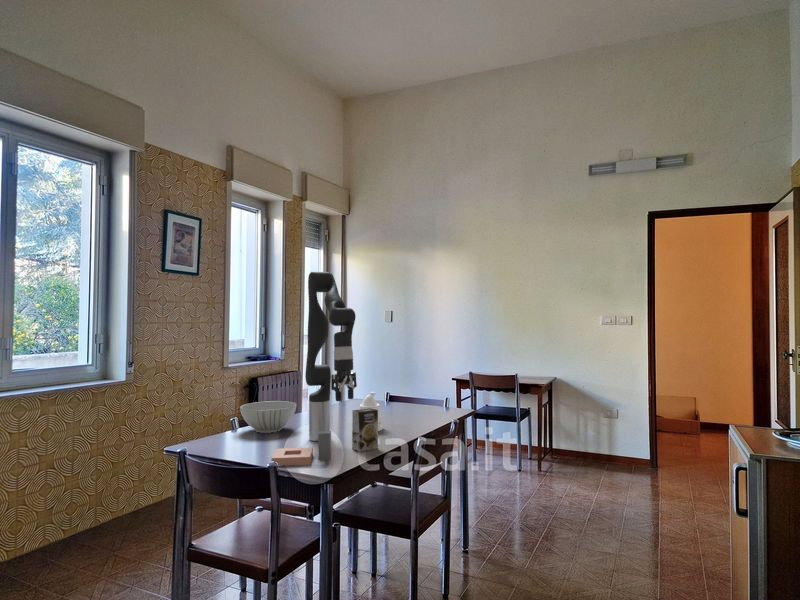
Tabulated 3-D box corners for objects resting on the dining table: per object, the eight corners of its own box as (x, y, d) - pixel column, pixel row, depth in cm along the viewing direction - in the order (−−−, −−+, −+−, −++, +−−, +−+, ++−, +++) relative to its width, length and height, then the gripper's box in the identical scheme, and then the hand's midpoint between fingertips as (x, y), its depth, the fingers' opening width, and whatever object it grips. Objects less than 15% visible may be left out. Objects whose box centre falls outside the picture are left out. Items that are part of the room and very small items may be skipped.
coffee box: (359, 452, 208) (359, 412, 208) (351, 449, 213) (351, 409, 214) (378, 448, 213) (378, 409, 214) (370, 445, 218) (370, 407, 219)
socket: (276, 456, 203) (276, 448, 203) (312, 455, 204) (312, 447, 204) (271, 466, 189) (271, 458, 189) (309, 465, 190) (309, 456, 190)
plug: (319, 456, 202) (319, 431, 202) (331, 456, 202) (330, 430, 203) (318, 459, 197) (318, 433, 198) (330, 459, 198) (330, 433, 198)
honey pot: (384, 426, 257) (383, 390, 258) (380, 432, 244) (380, 394, 245) (358, 426, 258) (358, 390, 259) (354, 431, 245) (353, 394, 246)
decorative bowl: (269, 439, 232) (269, 412, 233) (227, 433, 245) (227, 407, 246) (307, 427, 256) (307, 403, 256) (267, 422, 269) (267, 399, 269)
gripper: (345, 358, 211) (346, 398, 209) (325, 359, 198) (326, 401, 196) (361, 357, 207) (362, 398, 206) (341, 358, 195) (342, 402, 193)
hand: (344, 400), depth 201 cm, fingers open, 8 cm apart
